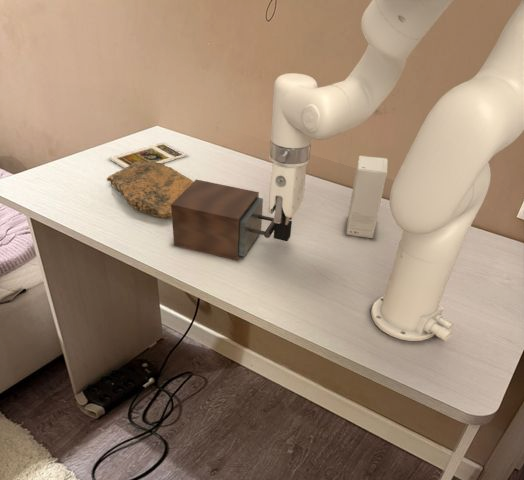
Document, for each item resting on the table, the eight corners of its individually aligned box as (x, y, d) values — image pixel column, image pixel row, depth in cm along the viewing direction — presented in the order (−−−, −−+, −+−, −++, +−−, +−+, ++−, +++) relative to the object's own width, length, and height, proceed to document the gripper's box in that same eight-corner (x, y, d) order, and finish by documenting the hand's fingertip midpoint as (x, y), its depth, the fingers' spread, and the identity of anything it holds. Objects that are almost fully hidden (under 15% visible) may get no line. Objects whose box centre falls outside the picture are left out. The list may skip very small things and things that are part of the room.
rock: (216, 183, 120) (165, 214, 106) (215, 203, 124) (165, 235, 110) (136, 150, 127) (78, 175, 113) (137, 170, 130) (81, 197, 117)
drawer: (281, 235, 109) (284, 202, 103) (265, 261, 101) (267, 228, 95) (205, 218, 112) (204, 186, 107) (184, 242, 104) (182, 209, 99)
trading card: (109, 157, 133) (163, 142, 143) (109, 159, 134) (163, 144, 143) (131, 170, 128) (185, 154, 138) (131, 172, 129) (185, 155, 138)
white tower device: (372, 239, 111) (388, 173, 100) (343, 235, 112) (356, 169, 101) (374, 221, 117) (389, 157, 106) (346, 217, 118) (359, 153, 107)
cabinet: (256, 231, 111) (258, 192, 104) (237, 260, 102) (238, 219, 95) (197, 218, 114) (196, 179, 107) (173, 245, 105) (170, 204, 98)
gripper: (298, 170, 84) (288, 260, 97) (319, 140, 94) (308, 225, 107) (257, 162, 85) (253, 252, 98) (282, 133, 96) (275, 218, 108)
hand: (281, 238), depth 102 cm, fingers closed
